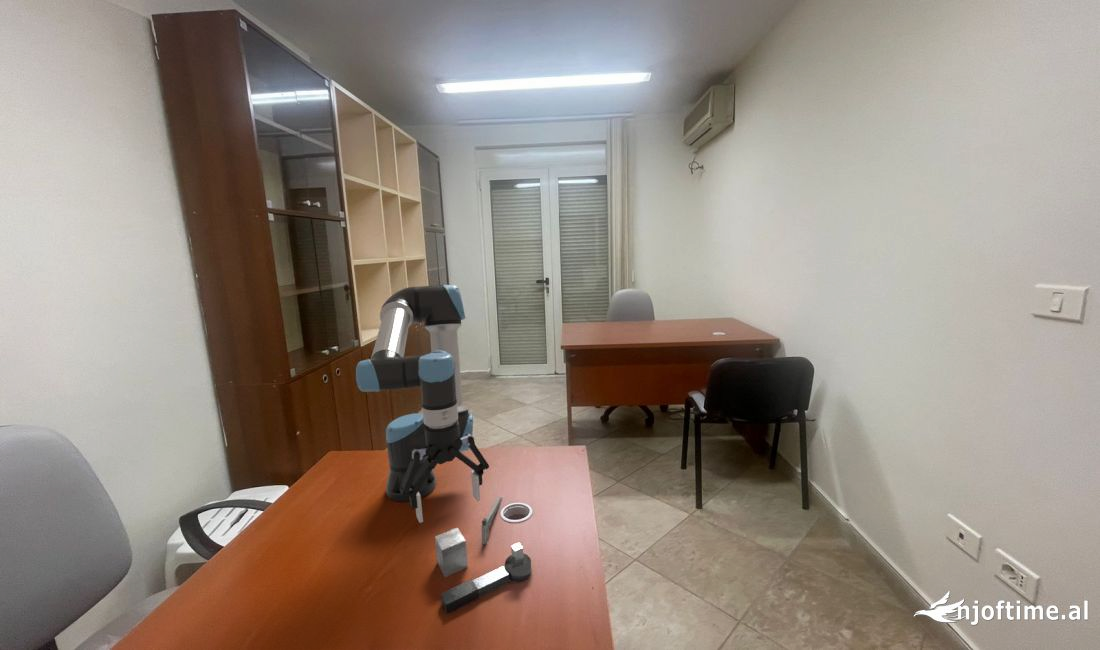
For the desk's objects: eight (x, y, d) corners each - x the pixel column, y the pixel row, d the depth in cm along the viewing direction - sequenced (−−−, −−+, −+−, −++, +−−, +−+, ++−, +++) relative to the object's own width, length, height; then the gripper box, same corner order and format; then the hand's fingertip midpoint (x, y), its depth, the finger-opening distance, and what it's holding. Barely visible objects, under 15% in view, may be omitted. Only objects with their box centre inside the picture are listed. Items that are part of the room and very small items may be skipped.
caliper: (486, 546, 103) (484, 524, 102) (482, 546, 104) (480, 524, 102) (502, 498, 124) (501, 479, 122) (498, 498, 124) (497, 479, 123)
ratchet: (439, 598, 88) (437, 571, 87) (523, 558, 98) (522, 534, 97) (448, 618, 83) (446, 590, 82) (536, 574, 93) (534, 549, 92)
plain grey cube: (437, 562, 98) (434, 536, 97) (459, 552, 101) (457, 527, 100) (444, 577, 94) (442, 550, 92) (467, 566, 96) (465, 540, 95)
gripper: (386, 443, 82) (397, 538, 85) (499, 414, 95) (504, 497, 98) (379, 431, 88) (389, 520, 92) (486, 404, 101) (491, 483, 105)
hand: (449, 508), depth 95 cm, fingers open, 13 cm apart
